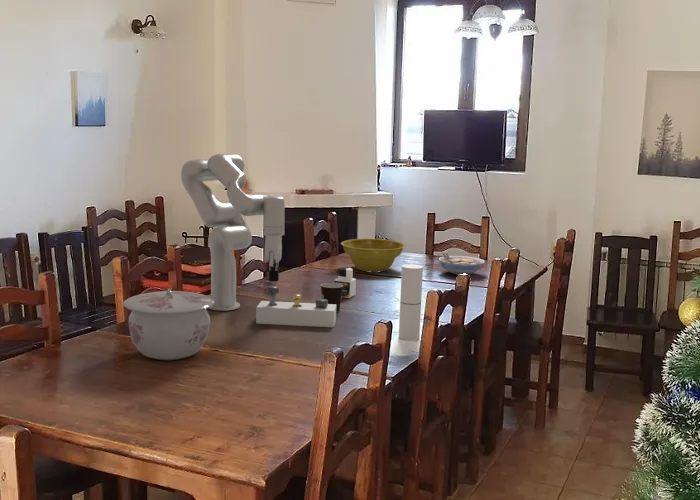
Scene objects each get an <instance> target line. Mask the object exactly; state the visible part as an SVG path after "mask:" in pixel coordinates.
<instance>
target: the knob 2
mask: <svg viewBox="0 0 700 500" xmlns="http://www.w3.org/2000/svg"><path fill="white" fill-rule="evenodd" d="M315 303H316V306H317V307H319V308H325V307H327V306H328V300H327V299H322V298H317V299H315Z"/></svg>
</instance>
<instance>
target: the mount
mask: <svg viewBox="0 0 700 500" xmlns="http://www.w3.org/2000/svg"><path fill="white" fill-rule="evenodd" d="M255 313H256V315H255V319H256V320H255V324H260V325H261V324H262V325H278V326H280V325H283V326H298V327H303V326H304V327H319V328H320V327H321V328H323V327H324V328H334V327H335V324H336V321H337V312H336V304H328V306H327V307H325V308H319V307H317V306H316V302H314V303H312V302H300V307H294V301H292V302H291V301H290V302H289V301H276V306H270V300H261V301H260V302H259V303H258V305H257V306H256V309H255Z"/></svg>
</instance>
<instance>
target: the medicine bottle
mask: <svg viewBox="0 0 700 500" xmlns="http://www.w3.org/2000/svg"><path fill="white" fill-rule="evenodd" d="M353 271H354V270H353V268H351V267H343V266H342V267H340V268H339V269H338V271H337V272H338V273H337V275H338V276H337V277H338V278H335V279H334V282H333V283H337V284H342V285H343V290H342V296H341V298H343V299H344V298H346V299H350V298H352V297H354V296H356V293H357V292H356V288H357V279H356V278H354V277H353V275H354V274H353V273H354V272H353Z"/></svg>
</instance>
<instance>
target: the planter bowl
mask: <svg viewBox="0 0 700 500" xmlns="http://www.w3.org/2000/svg"><path fill="white" fill-rule="evenodd" d="M340 245H341V246H342V247H343V250H344V252H345V254H347V255H348V256H349V257H350V260H351V262H352V264H353V265H354V267H355V268H356V269H359V270H358V271H360V270H363V271H362V272H364V271H371V272H370V273H379V272H378V271H384V272H386V271H387V270H388V269H390V268H391V267H392V265H394V261H395V259H396V258H398V257H399V256H400V255H401V254H402V252H403V249H404V248H406V244H405V243H403V242H402V241H401V242H400V241H396V240H391V239H384V238H383V239H382V238H381V239H380V238H353V239H347V240H344V241H341V242H340ZM385 270H386V271H385Z"/></svg>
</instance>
